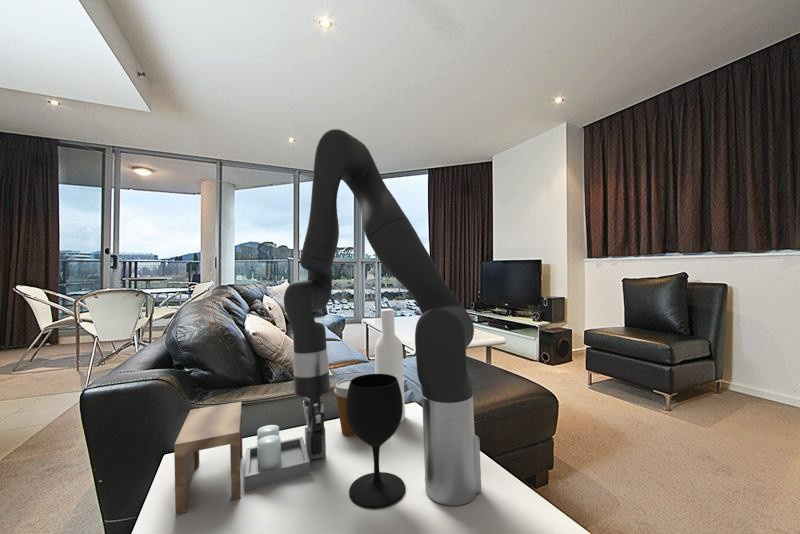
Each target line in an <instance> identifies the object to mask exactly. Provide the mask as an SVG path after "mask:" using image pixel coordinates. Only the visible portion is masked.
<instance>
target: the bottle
mask: <svg viewBox="0 0 800 534" xmlns="http://www.w3.org/2000/svg"><path fill="white" fill-rule="evenodd" d="M395 315H396V314H395V310H394V309H393V308H384V309H380V320H381V322H380V325H381V335H380V337H378V338H377V340H376V343H375V346H374V367H375V368H374V370H375V371H374V372H375V373H374V374H388V375H392V376H395V377H396V378H397V380H398V383H399V386H400V390H401V395H402V402H403V412H402V418H401V421H400V424H401V423H403V422H404V421H405V419H406V406H405V402H406V401H405V377H404V375H405V373H404V354H403V353H404V350H403V348H404V347H403V344H402V341H401V338H399V337H398V336H397V334H395V328H396V327H395Z"/></svg>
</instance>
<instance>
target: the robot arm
mask: <svg viewBox="0 0 800 534" xmlns="http://www.w3.org/2000/svg"><path fill="white" fill-rule="evenodd" d="M341 181H343V182H344V183H345V184H346V186H347V187H348V188H349V189H350V191H351V192H352V195H354V198H355V199H356V200H357V202H358V205H359V208H360V212H361V221H362V227H363V231H364V235H365V237H366V239H367V241H368V243H369V245H370V247H371V248H372V249H373V252H374V254H375V255H376V258H377V259H378V261H379V262H380V263H381V265H382V266H383V267H384V268H385V269H386V270H387V272H388V273H390V275H391V276H392V277H394V278H395V279H396V280H397V282H399V283H400V284H401V285H402V286H403V288H405V289H406V291H407V292H408V293H409V294H410V296H411V297H412V298H413V300H414V301H415V303H416V305H417V307H418V308H419V310H420V313H421V315H420V317H419V318H418V320H417V321H416V322H417V323H416V324H415V330H414V348H415V361H416V373H417V379H418V381H419V383H420V386H421V401H422V403H421V405H422V426H423V427H422V429H423V430H422V431H423V456H424V461H423V462H424V487H425V493H426V495H427V496H428V498H430V499H431V500H433V501H435V502H436V503H438V504H440V505H445V506H461V505H466V504H467V503H468V504H469V502H471V501H473V500H474V499H475V498H476V496H477V494H478V493H480V492H481V493H482V473H481V471H482V470H481V468H482V467H481V447H480V445H481V444H480V443H481V442H480V437H479V436H478V435H477V434H475V419H474V418H475V417H474V415H475V414H474V412H475V411H474V389H473V388H474V387H473V380H472V379H471V377H470V376H469V374H468V364H467V351H466V350H467V347H469V345H470V344H471V342H473V338H474V335H475V327H474V326H475V325H474V323H473V319H472V317H471V316H470V314H469V312H468V310H467V309H466V308H465V307H464V305H462V303H461V302H460V300H459V299H458V297H456V295H455V293H454V292H453V291H452V290H451V289H450V287H449V286H448V285H447V284H446V281H444V278H443V277H442V275H441V273H439V270H438V268H437V267H436V265H435V263H434V260H433V259H432V257H431V256H430V254H429V252H428V251H427V249H426V248H425V246H424V244H423V241H421V239H420V237H419V235H418V233H417V231H416V230H415V228H414V226H413V225H412V223H411V222H410V220H409V217H407V215H406V214H405V212H404V211H403V209H402V207H401V206H400V204H399V203H398V201H397V200H396V198H395V197H394V195H393V194H392V193H391V191H390V190H389V189H388V187H387V185H386V183H385V182H384V180H383V178H382V176H381V173H380V172H379V169H378V167H377V165H376V162H375V160H374V158H373V156H372V153H371V151H370V150H369V148H368V147H367V146H366V144H364V143H363V142H362V141H361V140H359V139H358V138H356V137H354V136H353V135H352V134H350V133H348V132H347V131H345V130H343V129H340V128H332V129H329V130H326V132H324V133H323V134H322V135H321V137H320V138H319V140H318V142H317V145H316V149H315V154H314V162H313V174H312V186H311V200H310V210H309V217H308V223H307V229H306V234H305V237H304V241H303V244H302V250H301V254H300V258H299V264H300V266H301V268H303V269H305V270H306V271H307V280H296V281H293V282H291V283H290V284H289V285H288V286H287V287H286V289H285V290H284V291H285V292H284V294H283V295H284V296H283V306H284V311H285V313H286V316H287V320H288V324H289V326H290V329H291V331H292V336H293V337H292V338H293V339H292V340H293V341H292V342H293V362H292V363H293V364H292V367H293V368H292V369H293V385H294V387H293V388H294V394H295V396H296V397H299V398H303V401H302V408H303V410H304V412H303V413H304V420H305V425H306V427H309V428H310V434H309V435H310V438H311V453H312V455H317V454H321V453H322V438H321V436H324V427H325V417H326V416H325V413H324V410H325V409H324V408H325V405H324V401H322V398H321V397H322V396H323V395H326V394H327V393H328V392H329V391H330V389H331V388H330V387H331V386H330V385H331V384H330V367H329V364H330V363H329V357H328V356H329V355H328V349H327V333H326V332H327V331H326V327H325V325H324V324H323V323H321V322H317V321H316V320H315V317H314V312H318V311H321V310H323V309H324V308H326V306H327V305H328V304H329V302H330V300H331V297H332V292H333V291H332V290H333V287H332V286H333V268H332V267H333V263H334V260H335V255H336V251H337V248H338V243H339V236H340V225H339V218H338V203H337V201H338V192H339V189H340V188H339V187H340V183H341ZM318 429H319V430H318ZM315 430H317V431H315Z"/></svg>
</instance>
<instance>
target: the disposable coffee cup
mask: <svg viewBox="0 0 800 534" xmlns="http://www.w3.org/2000/svg"><path fill="white" fill-rule="evenodd" d="M352 379H353V378H347V379H343V380H339V381H337V383H335V387H334V389H333V392H334V395H335V396H336V403H337V409H338V414H339V415H338V416H339V422H340V428H341V435H344V436H347V437H357V436H356V435H355V433H354V432H353V431H352V429H351V427H350V425H349V423H348V419H347V413H346V400H347V393H348V389H349V385H350V381H351V380H352Z"/></svg>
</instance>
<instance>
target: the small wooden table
mask: <svg viewBox="0 0 800 534" xmlns="http://www.w3.org/2000/svg"><path fill="white" fill-rule="evenodd" d="M242 408H243V407H242V401H237V402H231V403H223V404H218V405H212V406H205V407H200V408H194V409H190V410H189V413H188V415H187V416H186V419H185V420H184V422H183V425H182V426H181V429H180V431H179V433H178V436H177V438H176V439H175V440H176V441H175V442H174V444H173V445H174V447H173V449H174V450H173V451H174V452H173V453H174V457H173V458H174V460H173V461H174V503H175V506H174V508H175V509H174V512H175V516H178V515H177V514H179V515H182V514H186V513H187V510H188V491H189V488H190V486H191V481H192V477H193V476H194V471H195V468H199V466H200V451H202V450H208V449H211V448H212V449H213V448H217V447H222V446H227V445H228V446H229V445H230V446H229V447H230V449H229V451H230V452H229V454H230V456H229V457H230V496H231V497H230V499H231V501H236V500H240V499H241V496H242V495H241V493H242V491H241V490H242V486H241V485H242V484H241V483H242V481H241V459H242V458H243V456H242V455H243V454H244V453H243V417H242V416H243V412H242ZM241 457H242V458H241Z"/></svg>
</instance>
